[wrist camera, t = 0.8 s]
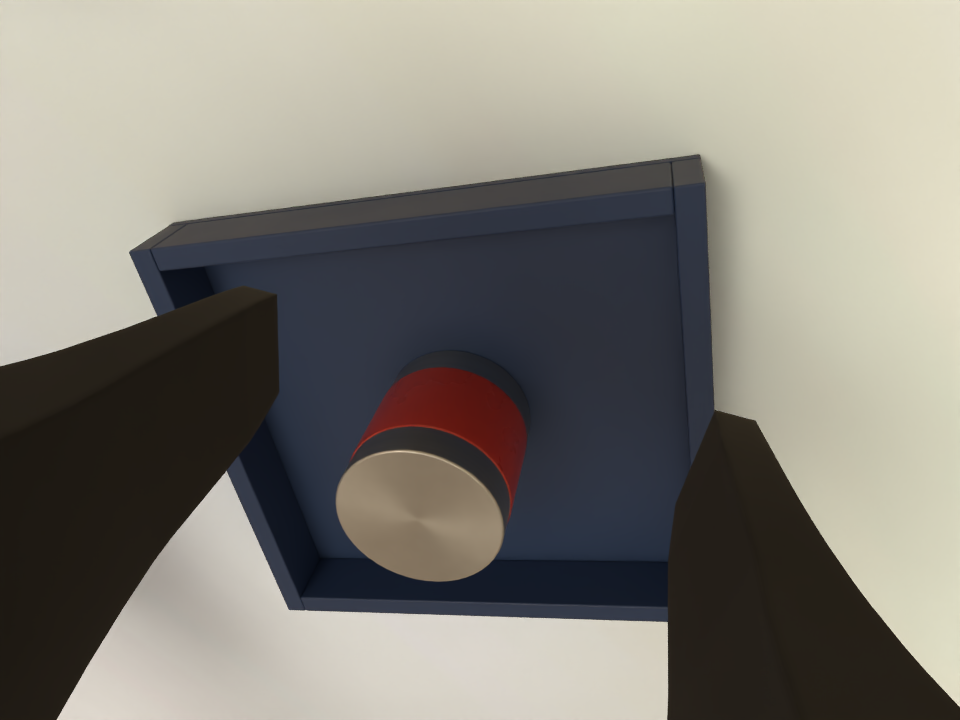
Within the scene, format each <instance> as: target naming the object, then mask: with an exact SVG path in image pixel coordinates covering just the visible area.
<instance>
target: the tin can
mask: <svg viewBox="0 0 960 720" xmlns="http://www.w3.org/2000/svg"><path fill="white" fill-rule="evenodd" d="M529 428H530V409H529V406H528V402H527V400H526V397H525V395H524V393H523V391H522V390H521V388H520V386H519V385H518V384H517V382H516V381H515V380H514V379H513V378H512V377H511V376H510V375H509V374H508V373H507V372H506V371H505V370H504V369H502V368H501V367H500V366H498V365H497V364H495V363H493V362H492V361H490V360H487V359H485V358H483V357H481V356H478V355H475V354H471V353H467V352H461V351H439V352H434V353H430V354H426V355H424V356H421V357H419V358H417V359H415V360H414V361H412V362H410V363H409V364H408V365H407V366H405V367H404V368H403V370H402V371H401V372H400V373H399V374H398V376H397V377H396V379H395V381H394V383H393V384H392V386H391V388H390V389H389V390H388V392H387V393H386V395H385V396H384V398H383V400H382V402H381V404H380V405H379V407H378V409H377V411H376V413H375V414H374V416H373V418H372V420H371V422H370V423H369V425H368V427H367V429H366V431H365V433H364V434H363V436H362V438H361V440H360V442H359V443H358V445H357V447H356V449H355V451H354V452H353V455H352V457H351V459H350V462H349V465H348V466H347V468H346V470H345V472H344V474H343V476H342V477H341V479H340V482H339V484H338V487H337V491H336V510H337V515H338V518H339V521H340V523H341V525H342V528H343V530H344V531H345V533H346V534H347V536H348V537H349V539H350V540H351V541H352V542H353V544H354V545H355V546H356V547H357V548H358V549H359V550H360V551H361V552H362V553H364V554H365V555H366V556H367V557H368V558H370V559H371V560H373V561H374V562H376V563H377V564H379V565H381V566H382V567H384V568H386V569H388V570H390V571H392V572H395V573H397V574H400V575H403V576H406V577H410V578H414V579H418V580H424V581H452V580H458V579H462V578H466V577H468V576H471V575H473V574H475V573H477V572H479V571H481V570H482V569H484V568H485V567H486V566H487V565H489V564H490V563H491V561H492V560H493V559H494V558H495V557H496V555H497V554H498V552H499V550H500V548H501V546H502V543H503V539H504V535H505V530H506V526H507V523H508V521H509V518H510V516H511V511H512V507H513V503H514V498H515V494H516V490H517V486H518V481H519V477H520V473H521V468H522V464H523V460H524V456H525V451H526V447H527V437H528V433H529Z"/></svg>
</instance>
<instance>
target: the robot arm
mask: <svg viewBox="0 0 960 720" xmlns="http://www.w3.org/2000/svg"><path fill="white" fill-rule="evenodd" d="M278 394H279V351H278V309H277V294H274V293H270V292H266V291H262V290H259V289H255V288H251V287H247V286H244V285H243V286H240V287H236V288H233V289H230V290H227V291H224V292H221V293H218V294H215V295H212V296H210V297H207V298H204V299H202V300H199V301H196V302H194V303H191V304H188V305H186V306H183V307H181V308H178V309H175V310H173V311H170V312H167V313H165V314H162V315H160V316H157V317H154V318H152V319H149V320H146V321H144V322H141V323H138V324H136V325H133V326H130V327H128V328H125V329H122V330H119V331H116V332H113V333H110V334H107V335H104V336H101V337H98V338H95V339H92V340H89V341H86V342H83V343H80V344H77V345H74V346H71V347H68V348H65V349H62V350H59V351H56V352H52V353H49V354H46V355H42V356H38V357H35V358H31V359H28V360H24V361H20V362H16V363H12V364H8V365H4V366H0V720H57V718H58V716H59V714H60V713H61V711H62V709H63V707H64V706H65V704H66V702H67V700H68V699H69V697H70V695H71V694H72V692H73V690H74V688H75V687H76V685H77V683H78V681H79V680H80V678H81V676H82V674H83V673H84V671H85V669H86V667H87V666H88V664H89V662H90V661H91V659H92V658H93V656H94V654H95V653H96V651H97V649H98V648H99V646H100V645H101V643H102V641H103V640H104V638H105V636H106V635H107V633H108V632H109V630H110V628H111V627H112V625H113V623H114V622H115V620H116V619H117V617H118V615H119V614H120V612H121V611H122V609H123V607H124V606H125V604H126V603H127V601H128V600H129V598H130V597H131V595H132V594H133V592H134V591H135V589H136V588H137V586H138V585H139V583H140V582H141V580H142V578H143V577H144V575H145V574H146V572H147V571H148V569H149V568H150V566H151V565H152V563H153V562H154V560H155V559H156V558H157V556H158V555H159V554H160V552H161V551H162V550H163V548H164V547H165V546H166V544H167V543H168V542H169V540H170V539H171V538H172V536H173V535H174V534H175V533H176V531H177V530H178V529H179V528H180V527H181V525H182V524H183V523H184V522H185V520H186V519H187V518H188V517H189V516H190V514H191V513H192V512H193V511H194V510H195V508H196V507H197V506H198V505H199V503H200V502H201V501H202V500H203V499H204V497H205V496H206V495H207V494H208V492H209V491H210V490H211V489H212V488H213V486H214V485H215V484H216V483H217V482H218V480H219V479H220V478H221V477H222V475H223V474H224V473H225V472H226V470H227V469H228V468H229V467H230V466H231V464H232V463H233V462H234V461H235V459H236V458H237V457H238V456H239V454H240V453H241V452H242V451H243V449H244V448H245V447H246V445H247V444H248V443H249V442H250V440H251V439H252V437H253V436H254V434H255V433H256V431H257V429H258V428H259V426H260V425H261V423H262V421H263V420H264V418H265V417H266V415H267V413H268V411H269V410H270V408H271V406H272V404H273V403H274V401H275V399H276V397H277V396H278ZM667 720H960V707H959V706H958V705H957V704H956V703H955V702H954V701H953V700H952V699H951V698H950V696H949V695H948V694H947V693H946V692H945V691H944V690H943V689H942V688H941V687H940V686H939V685H938V684H937V683H936V682H935V680H934V679H933V678H932V677H931V676H930V675H929V674H928V673H927V672H926V671H925V670H924V668H923V667H922V666H921V665H920V664H919V663H918V662H917V661H916V659H915V658H914V657H913V656H912V655H911V654H910V653H909V651H908V650H907V649H906V648H905V647H904V646H903V644H902V643H901V642H900V641H899V639H898V638H897V637H896V636H895V634H894V633H893V632H892V631H891V630H890V628H889V627H888V626H887V625H886V623H885V622H884V621H883V620H882V618H881V617H880V616H879V615H878V614H877V612H876V611H875V610H874V609H873V607H872V606H871V605H870V604H869V602H868V601H867V600H866V598H865V597H864V596H863V594H862V593H861V592H860V590H859V589H858V588H857V586H856V585H855V584H854V582H853V581H852V579H851V578H850V576H849V575H848V574H847V572H846V571H845V569H844V568H843V566H842V565H841V564H840V562H839V561H838V559H837V558H836V556H835V555H834V553H833V552H832V551H831V549H830V548H829V546H828V545H827V543H826V542H825V540H824V538H823V537H822V535H821V534H820V532H819V531H818V529H817V528H816V526H815V524H814V523H813V521H812V520H811V518H810V516H809V515H808V513H807V511H806V510H805V508H804V506H803V505H802V503H801V501H800V500H799V498H798V496H797V495H796V493H795V491H794V489H793V488H792V486H791V484H790V482H789V480H788V479H787V477H786V475H785V473H784V472H783V470H782V468H781V466H780V464H779V463H778V461H777V459H776V457H775V455H774V453H773V452H772V450H771V448H770V446H769V444H768V442H767V441H766V439H765V437H764V435H763V433H762V432H761V430H760V428H759V426H758V425H757V423H756V421H754V420H750V419H747V418H743V417H739V416H735V415H732V414H728V413H724V412H720V411H716V410H715V411H714V413H713V416H712V418H711V421H710V423H709V425H708V428H707V430H706V432H705V435H704V437H703V440H702V442H701V444H700V447H699V449H698V452H697V454H696V456H695V459H694V461H693V463H692V466H691V468H690V471H689V473H688V475H687V478H686V480H685V482H684V485H683V487H682V490H681V492H680V494H679V497H678V499H677V501H676V504H675V511H674V518H673V525H672V533H671V541H670V549H669V557H668V716H667Z"/></svg>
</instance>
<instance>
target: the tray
mask: <svg viewBox="0 0 960 720" xmlns="http://www.w3.org/2000/svg"><path fill="white" fill-rule="evenodd" d="M129 253H130V256H131V258H132V260H133V262H134V265H135V267H136V269H137V271H138V274H139V276H140V278H141V280H142V283H143V285H144V287H145V289H146V291H147V294H148V296H149V298H150V300H151V303H152V305H153V307H154V309H155V312H156V314H157V316H160V315H162V314H165V313H167V312H170V311H173V310H175V309H178V308H181V307H183V306H186V305H188V304H191V303H194V302H196V301H199V300H202V299H204V298H207V297H210V296H212V295H215V294H218V293H221V292H224V291H227V290H230V289H233V288H236V287H240V286H243V285H244V286H247V287H251V288H255V289H259V290H262V291H266V292H270V293H274V294H277V309H278V351H279V394H278V396H277V397H276V399H275V401H274V403H273V404H272V406H271V408H270V410H269V411H268V413H267V415H266V417H265V418H264V420H263V421H262V423H261V425H260V426H259V428H258V429H257V431H256V433H255V434H254V436H253V437H252V439H251V440H250V442H249V443H248V444H247V445H246V447H245V448H244V449H243V451H242V452H241V453H240V454H239V456H238V457H237V458H236V459H235V461H234V462H233V463H232V464H231V466H230V467H229V468H228V469H227V472H228V475H229V477H230V479H231V481H232V484H233V486H234V488H235V490H236V493H237V495H238V497H239V499H240V502H241V504H242V506H243V508H244V510H245V513H246V515H247V517H248V519H249V522H250V524H251V526H252V528H253V531H254V533H255V535H256V537H257V540H258V542H259V544H260V546H261V548H262V551H263V553H264V555H265V557H266V560H267V562H268V564H269V566H270V569H271V571H272V573H273V575H274V577H275V580H276V582H277V584H278V586H279V589H280V591H281V593H282V595H283V598H284V600H285V602H286V604H287V607H288V609H289V610H308V611H340V612H372V613H403V614H435V615H466V616H498V617H529V618H561V619H593V620H624V621H656V622H668V557H669V549H670V541H671V533H672V525H673V518H674V511H675V504H676V501H677V499H678V497H679V494H680V492H681V490H682V487H683V485H684V482H685V480H686V478H687V475H688V473H689V471H690V468H691V466H692V463H693V461H694V459H695V456H696V454H697V452H698V449H699V447H700V444H701V442H702V440H703V437H704V435H705V432H706V430H707V428H708V425H709V423H710V421H711V418H712V416H713V413H714V387H713V361H712V335H711V309H710V283H709V258H708V232H707V206H706V183H705V178H704V173H703V168H702V163H701V158H700V155H693V156H685V157H678V158H670V159H662V160H654V161H647V162H639V163H631V164H623V165H616V166H608V167H600V168H592V169H585V170H577V171H569V172H562V173H554V174H546V175H538V176H531V177H523V178H515V179H507V180H500V181H492V182H484V183H477V184H469V185H461V186H453V187H446V188H438V189H430V190H422V191H415V192H407V193H399V194H391V195H384V196H376V197H368V198H361V199H353V200H345V201H337V202H330V203H322V204H314V205H306V206H299V207H291V208H283V209H276V210H268V211H260V212H252V213H245V214H237V215H229V216H221V217H214V218H206V219H198V220H190V221H183V222H175V223H172V224H171V225H169V226H168V227H166V228H165V229H163V230H162V231H160V232H159V233H157V234H156V235H154V236H152V237H151V238H149V239H148V240H146V241H145V242H143V243H142V244H140V245H139V246H137V247H136V248H134V249H132V250H131V251H130V252H129ZM439 351H461V352H467V353H471V354H475V355H478V356H481V357H483V358H485V359H487V360H490V361H492V362H493V363H495V364H497V365H498V366H500V367H501V368H502V369H504V370H505V371H506V372H507V373H508V374H509V375H510V376H511V377H512V378H513V379H514V380H515V381H516V382H517V384H518V385H519V386H520V388H521V390H522V391H523V393H524V395H525V397H526V400H527V402H528V406H529V409H530V428H529V433H528V437H527V447H526V451H525V456H524V460H523V464H522V468H521V473H520V477H519V481H518V486H517V490H516V494H515V498H514V503H513V507H512V511H511V516H510V518H509V521H508V523H507V526H506V530H505V535H504V539H503V543H502V546H501V548H500V550H499V552H498V554H497V555H496V557H495V558H494V559H493V560H492V561H491V563H490V564H489V565H487V566H486V567H485V568H484V569H482V570H481V571H479V572H477V573H475V574H473V575H471V576H468V577H466V578H462V579H458V580H452V581H424V580H418V579H414V578H410V577H406V576H403V575H400V574H397V573H395V572H392V571H390V570H388V569H386V568H384V567H382V566H381V565H379V564H377V563H376V562H374V561H373V560H371V559H370V558H368V557H367V556H366V555H365V554H364V553H362V552H361V551H360V550H359V549H358V548H357V547H356V546H355V545H354V544H353V542H352V541H351V540H350V539H349V537H348V536H347V534H346V533H345V531H344V530H343V528H342V525H341V523H340V521H339V518H338V515H337V510H336V491H337V487H338V484H339V482H340V479H341V477H342V476H343V474H344V472H345V470H346V468H347V466H348V465H349V462H350V459H351V457H352V455H353V452H354V451H355V449H356V447H357V445H358V443H359V442H360V440H361V438H362V436H363V434H364V433H365V431H366V429H367V427H368V425H369V423H370V422H371V420H372V418H373V416H374V414H375V413H376V411H377V409H378V407H379V405H380V404H381V402H382V400H383V398H384V396H385V395H386V393H387V392H388V390H389V389H390V388H391V386H392V384H393V383H394V381H395V379H396V377H397V376H398V374H399V373H400V372H401V371H402V370H403V368H404V367H405V366H407V365H408V364H409V363H410V362H412V361H414V360H415V359H417V358H419V357H421V356H424V355H426V354H430V353H434V352H439Z"/></svg>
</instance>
